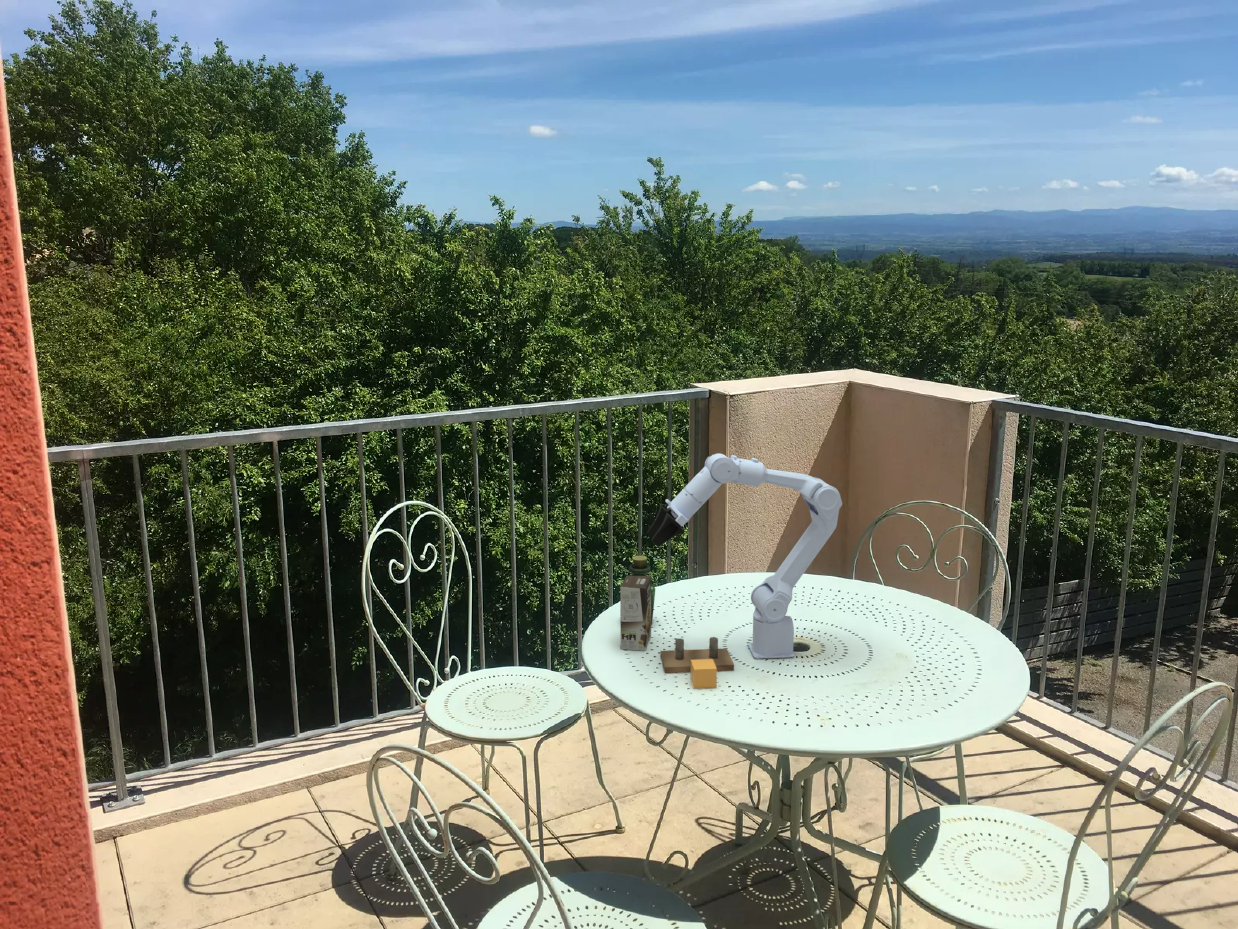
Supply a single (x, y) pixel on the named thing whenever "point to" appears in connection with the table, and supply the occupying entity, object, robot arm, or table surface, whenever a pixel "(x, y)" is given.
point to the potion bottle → (642, 569)
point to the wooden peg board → (695, 657)
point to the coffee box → (635, 612)
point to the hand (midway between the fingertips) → (652, 539)
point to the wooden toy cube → (703, 673)
